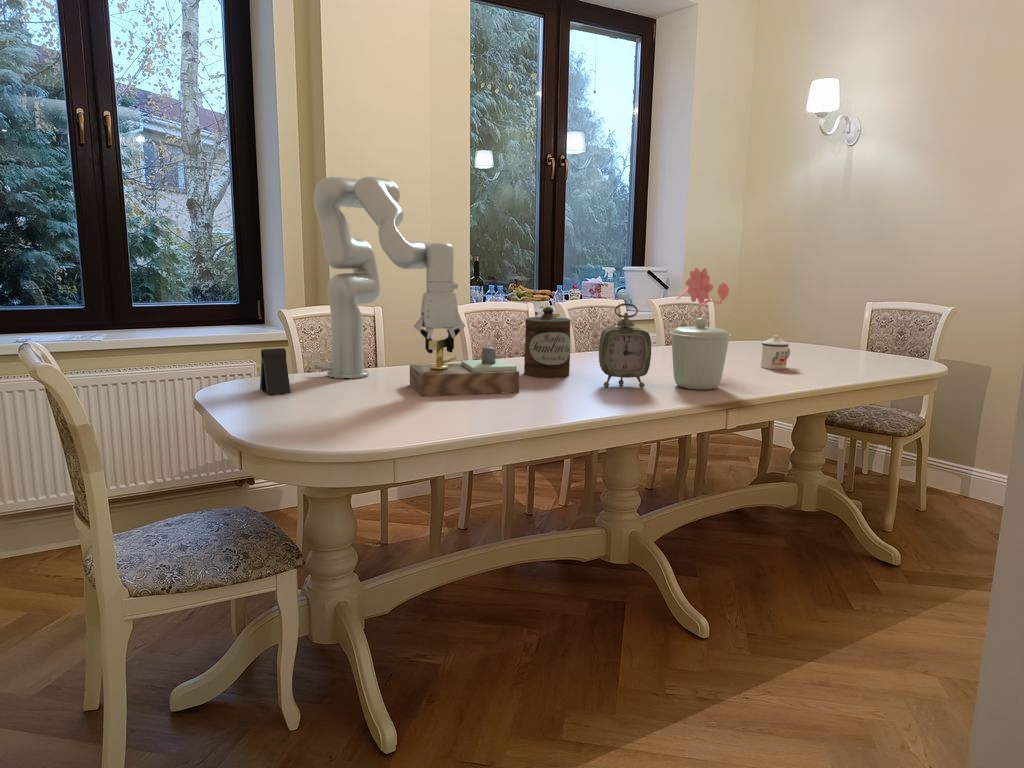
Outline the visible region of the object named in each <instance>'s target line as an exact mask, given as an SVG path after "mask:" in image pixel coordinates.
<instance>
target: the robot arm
mask: <svg viewBox="0 0 1024 768" xmlns="http://www.w3.org/2000/svg"><path fill="white" fill-rule="evenodd" d="M400 193H401V192H400V189H399V186H398V185H397V184H396V183H395V182H394V181H393V180H391V179H389V178H384V177H375V176H364V177H361V178H360V179H357V178H348V177H341V176H329V177H324V178H323V179H321V180H320V181H318V183H317V184H316V186H315V189H314V192H313V208H314V211H315V214H316V217H317V221H318V224H319V227H320V232H321V233H320V234H321V239H322V244H323V250H324V255H325V259H326V263H327V264H328V266H329V267H330V268H332V269H334V270H352V272H347V273H338V274H336V275H333V276H332V277H331V278H330V279H329V281H328V283H327V285H326V294H327V298H328V303H329V309H330V325H331V329H330V330H331V359H330V362H327V363H316V369H317V370H316V371H320V370H321V371H327V374H326V375H327V377H329V378H332V377H334V379H344V378H349V379H360V378H365V377H368V376H369V370H366V369H364V331H363V330H364V328H363V327H364V325H363V324H364V323H363V315H362V312H361V310H360V308H359V305H360V304H362V305H363V304H371V303H374V302H375V301H377V300H378V298H379V296H380V292H381V283H380V278H379V271H378V266H377V261H376V256H375V252H374V249H373V247H372V246H371V245H370V244H371V243H369V242H368V241H367V240H365V239H362V238H353V237H352V235H351V231H350V226H349V225H350V224H349V222H348V219H347V217H346V215H345V214H344V213H343V211H342V210H341V208H340V207H343V208H344V207H345V208H356V209H357V208H358V209H363V210H364V211H365V212H366V213H367V215H368V216H369V218H371V220H372V221H373V222H374V224H375V225H376V226H377V227H378V239H379V243H380V247H381V249H382V250H383V252H384V253H385V254H386V255H387V257H388V258H389V260H390V261H391V262H392V263H393V264H394V265H395V266H397V267H398V268H400V269H402V270H403V269H404V270H410V269H411V270H426V277H425V278H426V290H425V291H426V292H423V294H422V299H421V306H420V317H419V319H418V320H417V321H416V322H415V324H414V325H413V328H414V329H415V330H416V331H417V332H419V333H420V334H421V335H422V336H423V338H424V339H425V340H424V341H425V342H424V343H425V346H424V347H425V350H426V352H427V353H428V354H432V353H433V351H434V350H431V349H429V341H430V340H433V338H432V336H433V332H434V330H436V329H437V330H439V329H440V330H441V329H442V330H443V329H446V332H447V336H446V337H447V347H446V352H448V353H453V350H454V349H455V338H457V337H456V336H458V334H459V333H460V332H461V331H462V330H463V329H464V328H465V327H466V325H465V323H464V322H463V320H462V319H461V318H460V316H459V307H458V301H457V294H456V292H454V291H455V290H456V289H458V288H459V284H458V283H455V282H454V257H455V256H454V251H455V250H454V247H453V245H452V244H451V243H446V242H445V243H442V242H441V243H439V242H435V243H433V242H432V243H431V242H427V241H426V242H425V241H407V240H406V239H405V238H404V237H403V235H402V234H401V232H399V230H398V229H397V227H398V226H400V225H401V223H402V221H403V220H404V216H405V215H404V211H403V209H402V208H401V207H400V206H399V204H398V203H399V202H400V196H401V195H400ZM423 328H425V329H423Z"/></svg>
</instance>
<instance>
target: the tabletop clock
mask: <svg viewBox="0 0 1024 768" xmlns="http://www.w3.org/2000/svg"><path fill="white" fill-rule="evenodd" d="M627 306H629V307H632V308H634V309H635V310H636V311H635V313H633V314H628V312H624V314H619V313H617V310H618V309H619V308H620V307H627ZM638 312H639V310H638V307H637V306H636V305H634V304H632V303H620V304H618V305H616V307H615V308H614V314H615V315H616V316H617V317H620V318H621V319H619V320H618V322H617V324H616V326H610V327H606V328H604V329H602V331H601V334H600V338H599V343H598V344H599V345H598V362H599V363H598V364H599V367H600V369H601V370H600V371H602V372H603V373H604V374H605V375H607V376H608V377H607V379H606V380H607V381H605V382H604V383H603V387H605V388H608V387H609V386H610V383H609V382H610V381H611V378H612V377H615V378H620V380H618V385H620V386H623V385H624V383H625V382H624V378H636V379H637V381H638V383H639V384H638V387H639V388H640V389H644V387H645V383H644V382H642V380H641V378H640V377H644V376H646V375H647V374H648V373H649V370H650V367H651V366H650V365H651V360H652V339H651V335H650V334H649V333H650V332H648V331H646V330H645V329H641V328H639V327H635V323H634V322H633V321H632V319H630V318H633V317H635V316H637V314H638Z"/></svg>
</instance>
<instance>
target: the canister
mask: <svg viewBox="0 0 1024 768" xmlns="http://www.w3.org/2000/svg"><path fill="white" fill-rule="evenodd" d="M707 324H708V320H707V319H706V318H705V317H701V318H700V317H698V318H696V319H695V321H694V325H695V326H679V327H675V328H674V329H672V330H670V331H669V335H671V352H672V353H671V356H672V366H673V367H672V370H673V379H674V382H675V384H676V385H677V386H678V387H680V388H683V389H686V390H697V391H698V390H699V391H700V390H701V391H706V390H714V389H716V388H718V387H719V386H720V384H721V381H722V378H723V377H722V376H723V373H724V369H725V368H724V367H725V363H726V358H727V352H728V346H729V340H730V339H731V338H732V334H731V333H729V331H727V330H726V329H722V328H718V327H710V326H707ZM705 326H706V327H705Z"/></svg>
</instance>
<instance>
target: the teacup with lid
mask: <svg viewBox="0 0 1024 768" xmlns="http://www.w3.org/2000/svg"><path fill="white" fill-rule="evenodd" d="M761 345H762V347H761V358H760V359H761V360H760V367H761V368H762V369H767V370H778V371H779V370H785V369H786V368H787V360H788V359H789V358H790V356H791V349H790V348H789V345H790V344H789V342H787V341H784V340H783V339H781V338H780V336H779V335H778V334H777V335H776V334H773V335H772V338H769V339H767V340H764V341H762V343H761Z"/></svg>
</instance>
